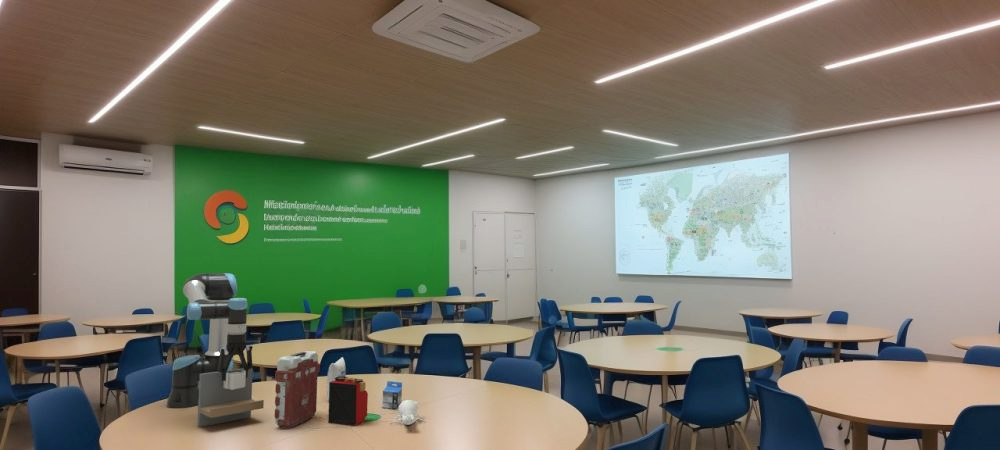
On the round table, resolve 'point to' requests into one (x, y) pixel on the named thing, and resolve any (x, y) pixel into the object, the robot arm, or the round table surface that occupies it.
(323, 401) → the round table surface
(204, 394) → the board
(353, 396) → the radio
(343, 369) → the pouch
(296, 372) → the first aid kit
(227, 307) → the robot arm
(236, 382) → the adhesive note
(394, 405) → the label tape cartridge
